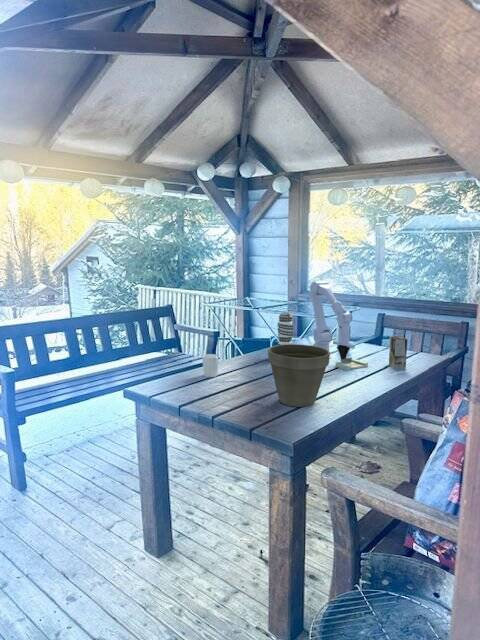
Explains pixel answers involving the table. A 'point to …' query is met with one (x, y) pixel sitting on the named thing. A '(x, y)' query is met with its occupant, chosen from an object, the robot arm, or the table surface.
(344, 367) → the box
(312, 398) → the plant pot
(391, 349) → the coffee box
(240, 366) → the table surface
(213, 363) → the white cup
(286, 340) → the decorative candle
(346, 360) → the sliding lid with handle
